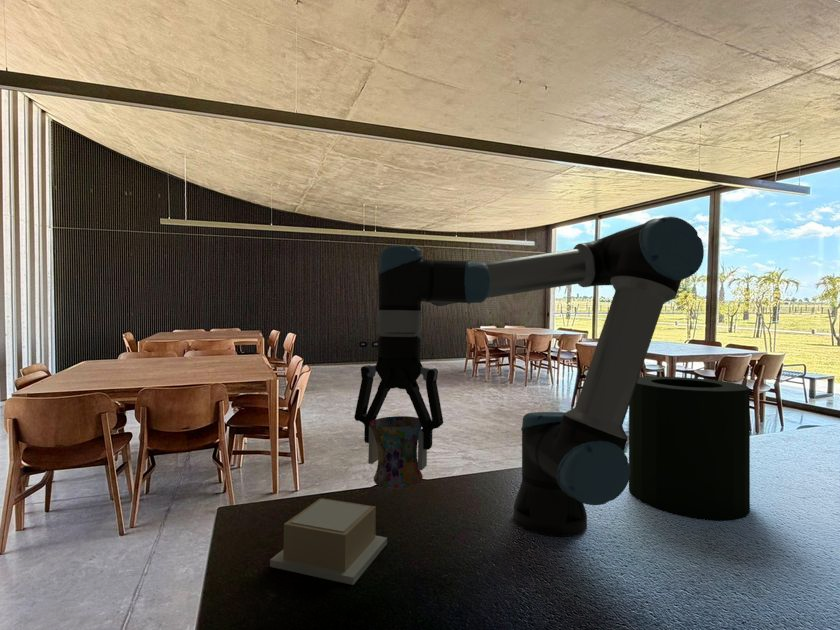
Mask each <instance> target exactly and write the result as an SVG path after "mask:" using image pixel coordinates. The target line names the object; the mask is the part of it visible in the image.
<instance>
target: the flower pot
mask: <svg viewBox="0 0 840 630" xmlns="http://www.w3.org/2000/svg"><path fill="white" fill-rule="evenodd" d="M750 389H751V388H750V387H749V386H748V385H745V384H740V383H737V382H731V381H724V380H717V379H716V380H715V379H709V378H707V379H706V378H696V377H684V376H683V377H681V376H678V377H677V376H639V378H638V381H637V384H636V387H635V389H634V392H633V395H632V398H631V401H630V404H629V407H628V463H629V464H630V478H629V481H628V491H629V493H630V494H631V496H632V497H633V498H635V499H636V500H638V501H639V502H640V503H642V504H644V505H647V506H649V507H650V508H654V509H655V510H657V511H658V510H659V511H662V512H665V513H668V514H670V515H674V516H678V517H683V518H687V519H693V520H701V521H713V522H730V521H731V522H732V521H737V520H740V519H745V518H747V516H748V515H749V514H750V513H751V512H750V511H751V504H750V503H751V491H750V490H751V481H750V480H751V479H750V478H751V475H750V474H751V473H750V471H751V470H750V469H751V467H750V466H751V461H750V460H751V458H750V457H751V453H750V452H751V450H750V449H751V447H750V446H751V443H750V441H751V437H750V436H751V435H750V431H751V429H750V428H751V427H750V426H751V425H750V424H751V422H750V418H751V417H750V416H751V413H750V411H751V409H750V408H751V406H750V403H751V398H750V397H751V396H750V394H751V393H750V391H751V390H750Z"/></svg>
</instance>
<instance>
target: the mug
mask: <svg viewBox="0 0 840 630" xmlns="http://www.w3.org/2000/svg"><path fill="white" fill-rule="evenodd" d="M421 425H422V423H420V421H419V418H418V416H417V417H416V416H407V415H397V416H396V415H395V416H384V417H379V418H376V419H375V420H373V421H371V422H370V427H371V429H372V431H373V434H374V436H375V439H376V443H377V449H378V460H377V467H376V472H375V474H374V476H373V482H374V484H375V485H377V486H379V487H381V488H384V489H390V490H391V489H392V490H396V489H397V490H399V489H400V490H401V489H408V488H411V487H414V486H417V485H418V484H420V483H421V482H422V480H423V478H424V476H423V474H422V470H418V433H419V431H420V430H421V429H422V426H421Z"/></svg>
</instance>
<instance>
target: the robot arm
mask: <svg viewBox="0 0 840 630" xmlns="http://www.w3.org/2000/svg"><path fill="white" fill-rule="evenodd" d="M698 234H699V232H698V231H697V229H695V227H694V226H693V225H692V224H691V223H689V222H688V221H686V220H685V219H682V218H679V217H676V216H663V217H659V218H653V219H649V220H646V222H644V223H641V224H638V225H635V226H632V227H629V228H626V229H623V230H620V231H616V232H614V233H611V234H609V235H607V236H604V237H601V238H599V239H595V240H592V241H587V242H582V243H577V244H576V245H575V246H574V247H573V248H572V249H566V250H560V251H553V252H552V251H551V252H546V253H539V254H533V255H527V256H521V257H520V256H519V257H513V258H512V257H511V258H507V259H500V260H499V259H498V260H492V261H487V262H483V261H473V260H472V261H471V260H468V259H467V260H439V259H438V260H436V259H435V260H432V259H426V258H424V256H423V252H422V250H421V248H420V247H416V246H409V245H391V246H386V247H384V248H383V249H382V250H381V251H380V253H379V264H378V265H379V266H378V318H377V319H378V321H377V332H378V333H379V334H380V335H381V336H379V337H378V338H377V362H376V364H375V365H370V364H368V365H363V366H362V367H361V368H360V375H361V382H360V387H359V393H358V397H357V401H356V407H355V412H354V421H356V422H360V423H362V424H363V425H364V438H363V441H364V443H365V444H368V456H367V457H368V461H367V463H368V464H369V465H373V464H374V463H376V462H378V449H377V443H376V439H375V436H374V434H373V431H372V429H371V427H370V422H371V421H373V420H375V419H378V416H379V413H380V411H381V409H382V406H383V404H384V402H385V400H386V398H387V396H388V393H389V391H390V390H391V389H396V388H397V389H398V390H405V392H406V393H407V395H408V396H409V399H410V400H411V401H410V402H411V404H412V406H413V409H414V411H415V414H416V415H417V418H419V421H420V423H422V425H421V426H422V427H421V430H420V431H419V433H418V443H417V461H418V470H420V471H423V470H424V469H425V468H426V467H427V459H428V458H427V457H428V455H427V454H428V451H429V450H430V449H431V448H432V447H433V430H435V429H439V428H440V427H441V426H442V425H444V418H443V417H444V416H443V412H442V407H441V401H440V395H439V388H438V384H437V380H438V376H439V375H438V374H439V370H438V369H437V368H428V367H424V366H423V365H422V362H421V347H422V346H421V344H422V343H421V342H422V341H421V340H422V339H421V338H420V336H418V334H421V331H422V330H421V327H422V326H421V325H422V302H425V303H430V304H431V305H433V306H437V307H443V306H448V305H452V304H453V305H454V304H458V303H459V304H469V305H470V304H476V303H478V304H482V303H483V302H485V301H486V300H487V299H490V298H495V297H501V296H503V297H504V296H509V295H515V294H521V293H527V292H535V291H541V290H548V289H554V288H559V287H566V286H567V287H568V286H571V285H578V286H579V287H581V288H590V287H597V286H599V287H600V286H612V288H613V289H614V294H613V297H612V301H611V303H610V306H609V309H608V311H607V314H606V317H605V320H604V323H603V326H602V329H601V331H600V334H599V338H598V340H597V343H596V346H595V349H594V352H593V355H592V358H591V361H590V364H589V367H588V370H587V372H586V374H585V375H586V376H585V378H584V380H583V381H584V382H583V383H582V387H581V390H580V391H579V395H578V399H577V400H576V401H577V402H576V404H575V406H574V407H573V409H570V410H567V411H566V412H562V411H561V412H558V411H557V412H556V411H539V412H538V411H537V412H529V413H525V414H524V415H523V417H522V425H521V429H520V431H521V467H522V468H521V483H520V487H519V489H518V491H517V495H516V497H515V501H514V504H513V519H514V520H515V522H516V523H517V524H518V525H519V526H521V527H522V528H524V529H525V530H528V531H530V532H533V533H536V534H540V535H544V536H549V537H550V536H551V537H571V536H576V535H579V534H581V533H583V532H584V531H585V530H586V529H587V527H588V516H587V515H588V514H587V511H586V507H585V505H588V506H589V505H590V506H600V505H605V504H607V503H608V502H610V501H615V499H617V498H618V497H619V496H620V495H621V494H622V493H623V492H624V491H625V490H626V487H628V486H627V485H629V478H630V464H629V457H628V456H627V455H626V453H625V452H624V451H625V448H626V445H627V442H628V440H629V436H628V435H627V433H626V432H625V430H624V426H623V425H624V422H625V418H626V416H627V414H628V411H629V404H630V401H631V398H632V395H633V392H634V389H635V387H636V384H637V381H638V378H639V377H640V374H641V371H642V368H643V365H644V362H645V359H646V357H647V353H648V350H649V348H650V345H651V341H652V339H653V336H654V332H655V329H656V328H657V325H658V322H659V318H660V315H661V313H662V309H663V306H664V305H665V303H667V302H670V301H672V300H674V299H675V298H677V294H678V292H679V287H680V286H681V283H682V281H683V280H685V279H688V278H690V277H691V276H693V275H695V274H696V273H697V272H698V271H699V270H700V268H701V266H702V264H703V261H704V254H705V250H704V244H703V241H702V238H700V236H699V235H698ZM376 374H377V375H378V376H379V378H380V382H379V384H378V387H377V391H376V393H375V395H374V396H373V397H374V398H373V400H372V402H371V404H370V399H371V393H372V389H373V385H374V378H375V376H376ZM421 375H422V378H423V381H425V386H426V387H425V389H426V394H427V399H428V405H429V410H430V412H429V410H428V408H427V405H426V404H425V401H424V399H423V396H422V393H421V391H420V385H419V383H418V381H417V380H418V378H419V377H420V376H421ZM369 404H370V405H369Z"/></svg>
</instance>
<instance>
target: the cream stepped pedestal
mask: <svg viewBox="0 0 840 630" xmlns="http://www.w3.org/2000/svg"><path fill="white" fill-rule="evenodd" d="M376 507H377V506H373V505H366V504H362V503H361V504H360V503H355V502H348V501H342V500H335V499H330V498H329V499H328V498H322V497H320V498H319V499H317V500H316V501H315V502H313V503H311V504H310V505H309V506H307V507H306V508H304V509H303V510H302V511H300V512H299V513H298V514H296V515H295V516H292V518H290V519H289V520H288V521H286V522H284V523H283V549H281V551H279V552H278V553H277V554H275V555H274V556H273V557H272V558H270V559H269V567H270V568H274V569H279V570H284V571H288V572H291V573H292V572H293V573H298V574H301V575H306V576H310V577H316V578H320V579H323V580H329V581H332V582H337V583H342V584H347V585H352V586H354V585H355V583H357V582H358V580H359V578H361V576H362V575H363V574H364V573H365V571H366V570H367V568H369V567H370V565H371V564H372V563H373V561H375V559H376V558H377V557H378V555H379V554H380V553H381V552H382V551H383V549H384V548H385V547H386V546H387V545H388V537H386V536H381V535H376V518H377V517H376V515H377V514H376V511H377V509H376Z"/></svg>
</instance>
